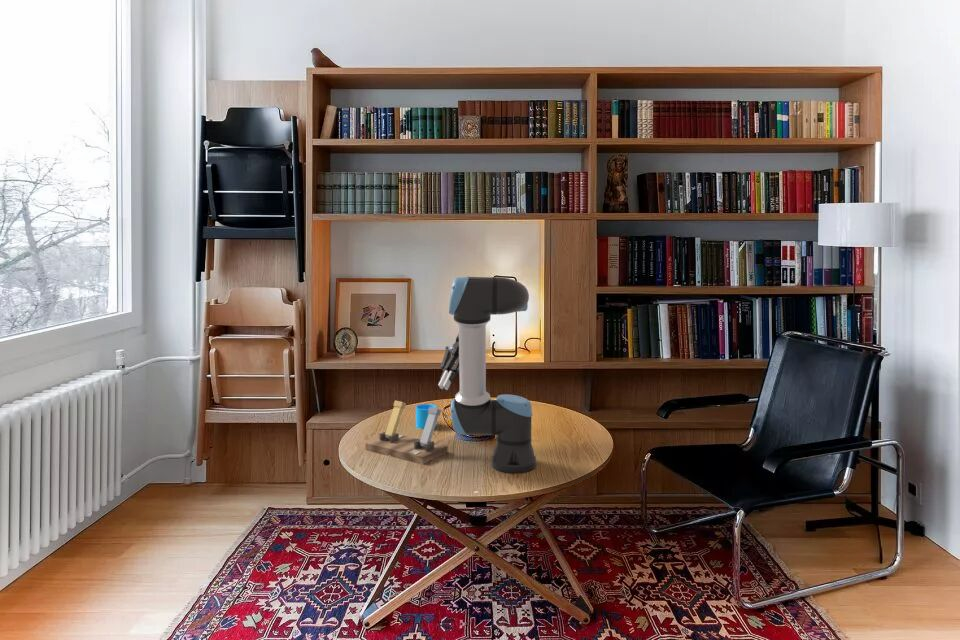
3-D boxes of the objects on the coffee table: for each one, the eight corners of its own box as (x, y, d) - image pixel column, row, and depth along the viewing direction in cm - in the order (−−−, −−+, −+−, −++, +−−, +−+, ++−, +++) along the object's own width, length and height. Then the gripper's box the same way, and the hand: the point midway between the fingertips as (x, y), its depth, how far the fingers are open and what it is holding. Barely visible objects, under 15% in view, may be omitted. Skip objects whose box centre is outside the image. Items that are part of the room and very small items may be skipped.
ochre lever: (394, 440, 235) (406, 403, 239) (390, 439, 233) (402, 401, 237) (386, 438, 237) (398, 402, 241) (382, 437, 235) (394, 400, 239)
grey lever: (429, 448, 227) (441, 410, 231) (425, 447, 225) (437, 408, 229) (421, 446, 229) (433, 408, 233) (417, 445, 227) (429, 407, 231)
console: (447, 452, 230) (447, 439, 230) (423, 464, 219) (423, 450, 218) (391, 439, 244) (391, 426, 244) (365, 449, 233) (365, 436, 232)
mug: (436, 429, 257) (436, 409, 256) (416, 430, 256) (415, 409, 255) (435, 420, 269) (435, 401, 267) (415, 421, 268) (415, 401, 267)
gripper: (488, 343, 244) (463, 396, 232) (457, 339, 251) (431, 390, 240) (481, 331, 238) (454, 384, 227) (449, 327, 246) (422, 379, 235)
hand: (442, 387), depth 233 cm, fingers closed
